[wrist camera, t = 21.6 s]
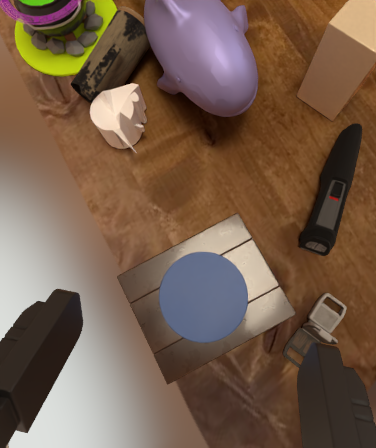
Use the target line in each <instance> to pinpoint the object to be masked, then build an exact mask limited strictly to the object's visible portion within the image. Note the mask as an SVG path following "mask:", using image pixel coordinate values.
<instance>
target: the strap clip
mask: <svg viewBox="0 0 376 448" xmlns="http://www.w3.org/2000/svg"><path fill="white" fill-rule="evenodd" d="M326 297H328V298H329V299H331V300H332V301H334V302H335V303H336V304H338V305H339V306H340V307H341V310H340V311H339V313H336V312H335V311H333V310H332V309H331V308H329V307H328V306H327V305H325V304H324V303H323V301H324V300H325V298H326ZM345 312H346V306H345V305H344V304H343V303H341V302H340V301H338V300H337V299H336V298H334V297H333V296H332V295H330V294H328V293H325V294H323V295H322V296H321V297H320V298H319V299H318V300H317V301H316V303H315V305H314V306H313V308H312V310H311V311H310V313H309V314H308V319H309V320H308V322H309V323H304V325H303V326H302V327H303V328H299V329H298V330H297V331H296V333H295V334H294V335H293V336H292V338H291V339H290V340H289V341H288V343H287V344H286V346H285V348H284V351H283V355H284V356H285V357H286V358H287V359H288V360H290V361H291V362H292V363H294V364H295V365H296V366H297V367H299V368H300V366H301V365H300V364H298V363H297V362H296V361H294V360H293V359H292V358H291V357H289V356H288V355H287V351H288V349H289V347H292V348H293V349H294V350H295V351H297V352H298V353H299V354H301V355H302V356H303V357H304V358H305V356H306V353H307V351H308V349H309V347H310V345H311V344H312V343H313V342H315V343H320V342H323V343H328V344H337V342H338V341H337V339H335V338H334V337H333V336H331V335H330V334H329V333H331V332H332V331H333V330H334V329H335V327H336V326H337V325H338V323H339V322H340V321H341V320H342V318H343V317H344V314H345ZM320 344H321V343H320Z"/></svg>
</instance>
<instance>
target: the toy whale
mask: <svg viewBox="0 0 376 448" xmlns="http://www.w3.org/2000/svg"><path fill="white" fill-rule="evenodd" d="M144 23H145V29H146V33H147V37H148V40H149V42H150V45H151V47H152V50H153V52H154V54H155V56H156V57H157V59H158V61H159V62H160V64H161V66H162V67H163V70H164V75H163V76H162V77H161V78H160V79H159V80H158V83H157V86H158V87H159V88H160V89H162V90H164V91H166V92H168V93H170V94H173V95H175V94H176V93H178V92H182V93H184V94H185V95H186V96H187V97H188V98H189V99H190V100H191V101H193V102H194V103H195V104H196V105H198V106H199V107H201V108H202V109H203V110H205V111H207V112H209V113H211V114H214V115H218V116H222V117H232V116H237V115H240V114H242V113H244V112H245V111H246V110H248V108H249V107H250V106H251V104H252V103H253V101H254V99H255V96H256V93H257V88H258V72H257V67H256V62H255V58H254V55H253V53H252V50H251V48H250V46H249V44H248V42H247V40H246V38H245V36H244V33H245V32H246V31H247V30H248V21H247V15H246V9H245V6H244V5H242V6H238V7H237V8H236V9H235V10H234V11H232V12H230V11H229V10H228V9H227V8H226V6H225V5H224V4H223V3H222V2H221V1H220V0H146V2H145V8H144Z"/></svg>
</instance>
